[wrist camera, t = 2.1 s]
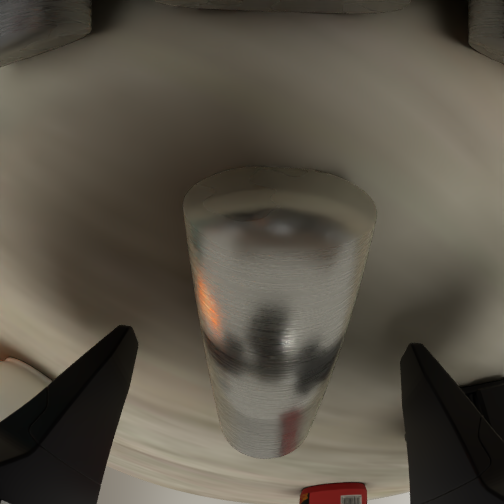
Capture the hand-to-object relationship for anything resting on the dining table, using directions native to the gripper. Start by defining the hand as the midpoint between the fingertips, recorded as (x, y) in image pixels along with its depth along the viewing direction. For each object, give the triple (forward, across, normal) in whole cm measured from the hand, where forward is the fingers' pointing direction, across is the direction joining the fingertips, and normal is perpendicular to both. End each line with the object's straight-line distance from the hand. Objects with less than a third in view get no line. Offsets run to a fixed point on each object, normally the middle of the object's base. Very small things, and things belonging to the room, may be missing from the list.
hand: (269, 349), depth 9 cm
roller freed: (+2, 0, 0) cm, 2 cm away
